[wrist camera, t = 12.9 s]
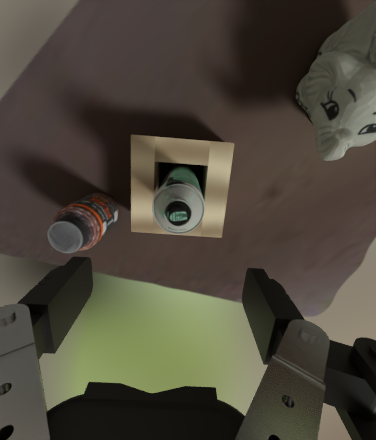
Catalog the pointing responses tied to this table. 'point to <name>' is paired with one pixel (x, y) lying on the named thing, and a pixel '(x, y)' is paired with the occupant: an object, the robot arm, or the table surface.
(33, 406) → the robot arm
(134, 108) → the table surface
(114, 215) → the supplement bottle
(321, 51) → the grey animal cookie jar
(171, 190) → the spray can
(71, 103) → the table surface
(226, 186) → the tube block
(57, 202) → the table surface
